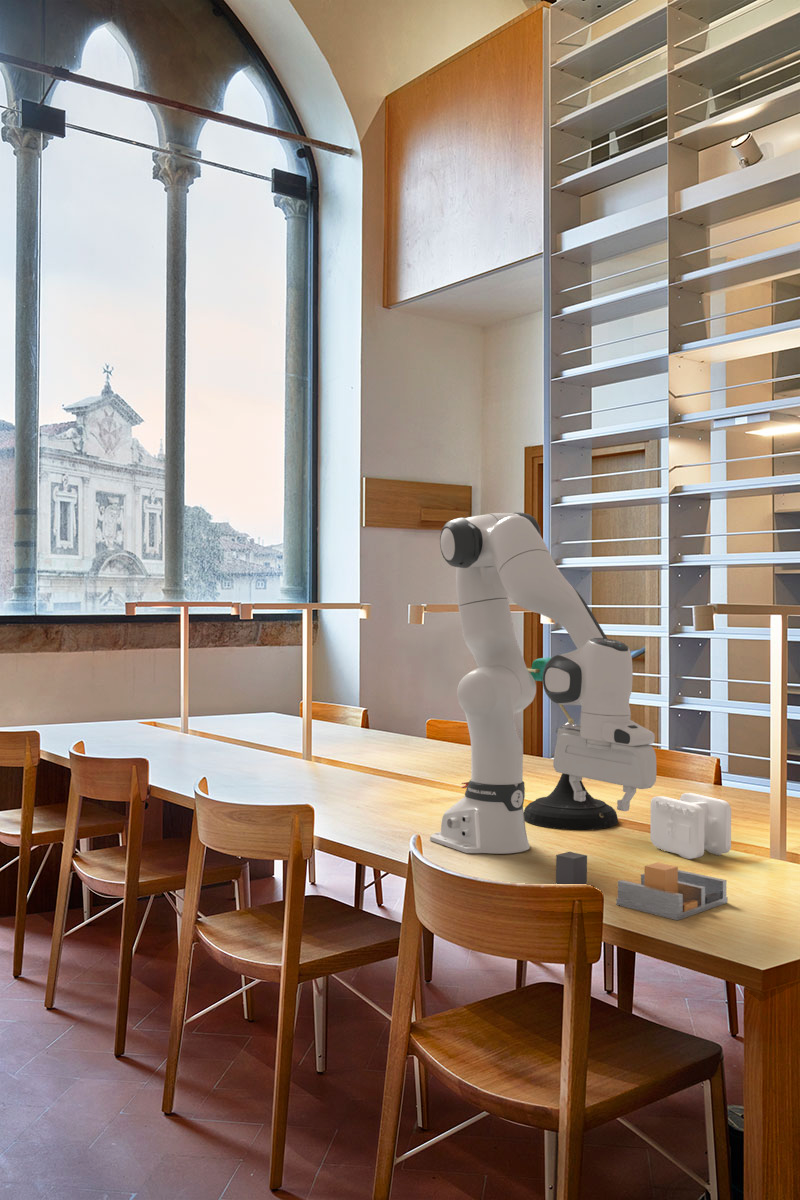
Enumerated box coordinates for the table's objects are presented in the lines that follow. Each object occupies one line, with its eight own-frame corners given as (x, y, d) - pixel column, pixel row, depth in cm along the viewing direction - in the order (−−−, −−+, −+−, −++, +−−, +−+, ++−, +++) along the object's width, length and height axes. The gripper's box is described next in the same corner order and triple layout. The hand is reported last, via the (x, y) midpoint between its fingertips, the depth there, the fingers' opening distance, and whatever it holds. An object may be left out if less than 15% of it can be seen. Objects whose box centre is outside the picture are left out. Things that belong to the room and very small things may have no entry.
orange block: (644, 901, 175) (644, 866, 175) (657, 896, 178) (657, 862, 178) (664, 906, 172) (664, 870, 173) (677, 901, 175) (677, 866, 175)
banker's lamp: (561, 834, 233) (563, 659, 234) (498, 817, 252) (499, 655, 253) (643, 823, 248) (644, 658, 248) (577, 807, 267) (578, 654, 268)
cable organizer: (734, 858, 212) (735, 802, 212) (695, 863, 208) (696, 806, 208) (685, 843, 226) (685, 791, 226) (647, 848, 221) (647, 794, 221)
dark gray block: (555, 887, 187) (556, 854, 188) (569, 883, 190) (569, 851, 190) (573, 892, 185) (573, 858, 185) (586, 888, 187) (587, 855, 187)
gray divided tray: (616, 904, 177) (616, 881, 177) (667, 888, 187) (667, 866, 187) (677, 920, 168) (677, 896, 168) (727, 902, 179) (727, 879, 179)
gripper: (548, 722, 189) (544, 796, 190) (643, 737, 175) (638, 818, 175) (568, 720, 194) (565, 793, 194) (663, 735, 179) (659, 814, 179)
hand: (600, 805), depth 184 cm, fingers open, 8 cm apart
